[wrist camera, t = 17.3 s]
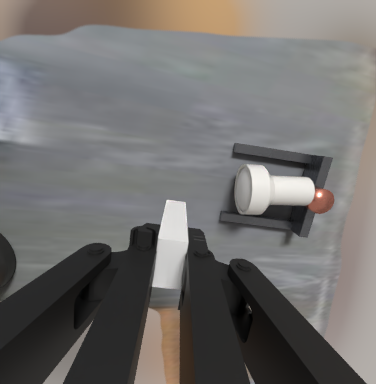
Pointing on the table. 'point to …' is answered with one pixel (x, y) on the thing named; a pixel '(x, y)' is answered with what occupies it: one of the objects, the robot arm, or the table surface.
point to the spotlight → (269, 190)
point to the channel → (300, 214)
